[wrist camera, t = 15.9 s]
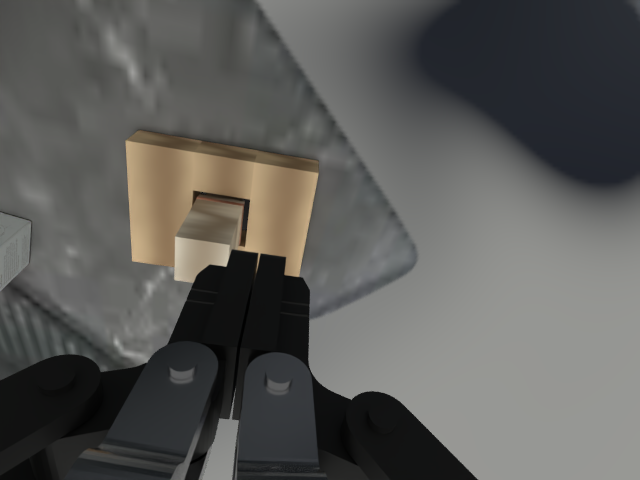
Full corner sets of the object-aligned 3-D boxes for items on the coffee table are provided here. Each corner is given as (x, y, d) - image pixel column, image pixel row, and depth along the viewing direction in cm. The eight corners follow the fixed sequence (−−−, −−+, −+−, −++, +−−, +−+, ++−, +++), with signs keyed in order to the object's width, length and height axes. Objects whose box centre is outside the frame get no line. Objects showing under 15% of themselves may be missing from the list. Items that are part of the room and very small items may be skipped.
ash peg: (203, 220, 41) (174, 280, 33) (205, 182, 39) (174, 235, 31) (245, 226, 42) (226, 287, 33) (249, 189, 40) (230, 244, 31)
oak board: (143, 244, 43) (132, 261, 40) (139, 129, 37) (125, 140, 34) (298, 267, 44) (297, 284, 42) (318, 160, 38) (318, 173, 36)
